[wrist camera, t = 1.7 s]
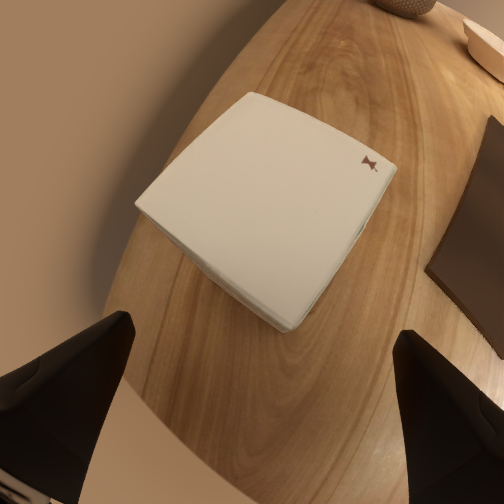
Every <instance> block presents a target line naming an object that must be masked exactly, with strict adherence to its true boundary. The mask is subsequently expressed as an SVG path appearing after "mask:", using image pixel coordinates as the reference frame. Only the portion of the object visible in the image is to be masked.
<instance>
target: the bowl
mask: <svg viewBox="0 0 504 504" xmlns="http://www.w3.org/2000/svg"><path fill="white" fill-rule="evenodd" d="M463 26H464V33H465V34H466V36H467V37H468V51H469V53H470V54H471V56H472V57H473V58H474V59H475V60H476V61H477V62H478V63H479V64H480V65H481V66H482V67H483V68H485V69H486V70H487V71H488V72H489V73H490V74H492V75H493V76H494V77H496V78H497V79H498V80H500V81H501V82H503V83H504V42H503V41H502V40H501V39H500V38H498V37H497V36H495V35H494V34H493V33H491V32H490V31H488V30H487V29H485V28H484V27H482V26H480V25H478V24H477V23H475V22H473V21H470V20H467V19H463Z"/></svg>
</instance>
